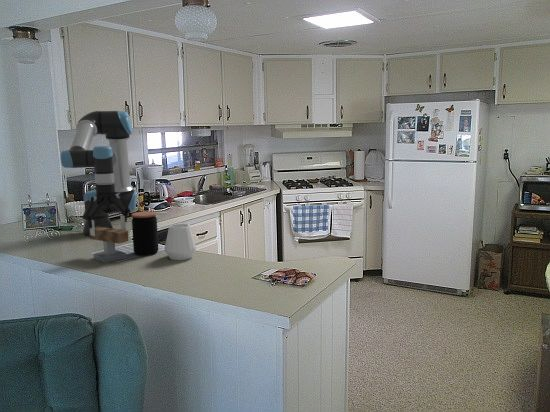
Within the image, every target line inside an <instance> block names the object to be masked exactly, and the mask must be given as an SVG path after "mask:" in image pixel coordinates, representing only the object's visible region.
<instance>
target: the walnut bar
mask: <svg viewBox="0 0 550 412" xmlns="http://www.w3.org/2000/svg"><path fill="white" fill-rule="evenodd" d="M89 233H90V229H89ZM89 240H94V241H101V242H103V241H106V242H112V243H115V244H122V243H125V242H129V230H127V229H126V230H121V229H118V228H113V229H112V228H105V227H95V236H92V235H91V234H90V236H89Z"/></svg>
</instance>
